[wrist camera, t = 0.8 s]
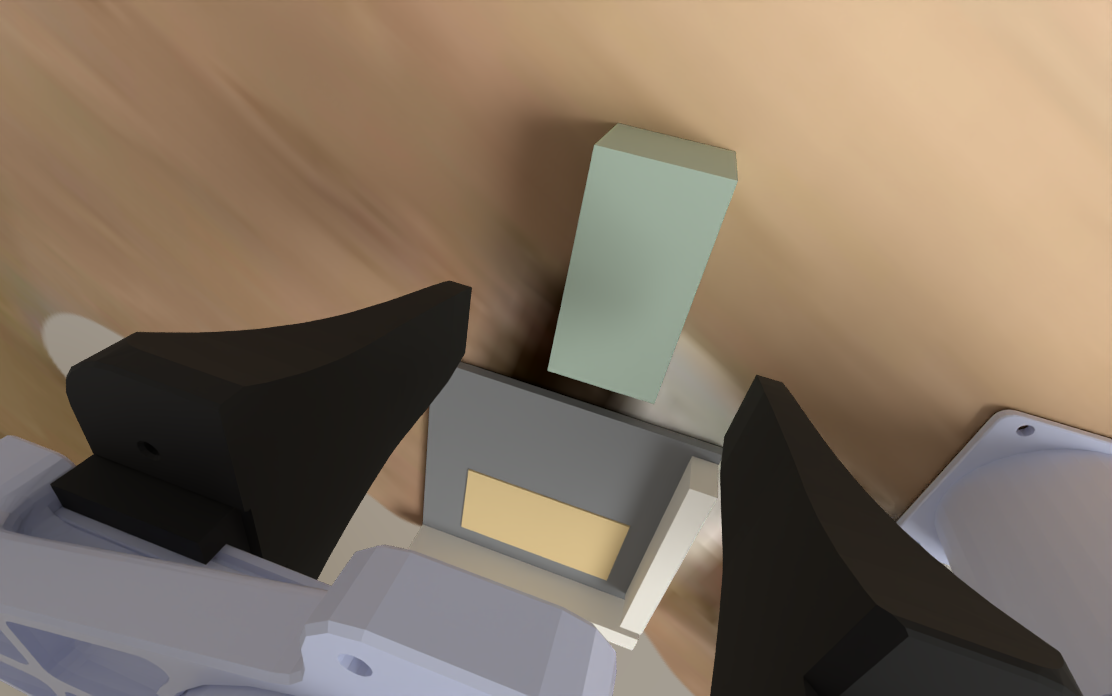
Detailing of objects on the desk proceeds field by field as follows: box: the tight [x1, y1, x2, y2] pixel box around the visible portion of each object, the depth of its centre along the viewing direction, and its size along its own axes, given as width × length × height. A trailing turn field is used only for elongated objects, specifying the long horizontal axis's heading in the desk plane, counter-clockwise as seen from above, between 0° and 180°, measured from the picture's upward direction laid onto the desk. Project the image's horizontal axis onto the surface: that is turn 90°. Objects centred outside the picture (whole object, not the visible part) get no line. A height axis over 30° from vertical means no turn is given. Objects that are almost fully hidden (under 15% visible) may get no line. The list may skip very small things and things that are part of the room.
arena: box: [408, 362, 723, 650], centre depth 27 cm, size 14×14×2 cm
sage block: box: [548, 123, 738, 404], centre depth 18 cm, size 4×8×4 cm, turn 170°
